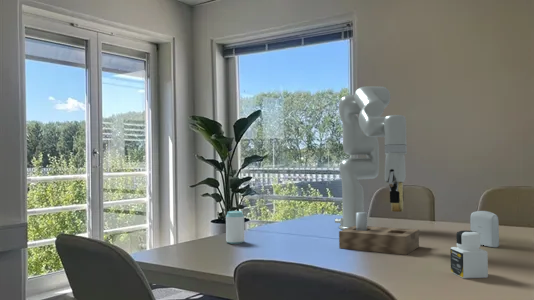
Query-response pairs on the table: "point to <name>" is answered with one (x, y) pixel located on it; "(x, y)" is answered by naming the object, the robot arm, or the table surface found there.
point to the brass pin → (399, 206)
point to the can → (234, 227)
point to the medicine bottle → (469, 256)
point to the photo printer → (486, 227)
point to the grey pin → (361, 221)
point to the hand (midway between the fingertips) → (396, 201)
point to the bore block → (380, 239)
